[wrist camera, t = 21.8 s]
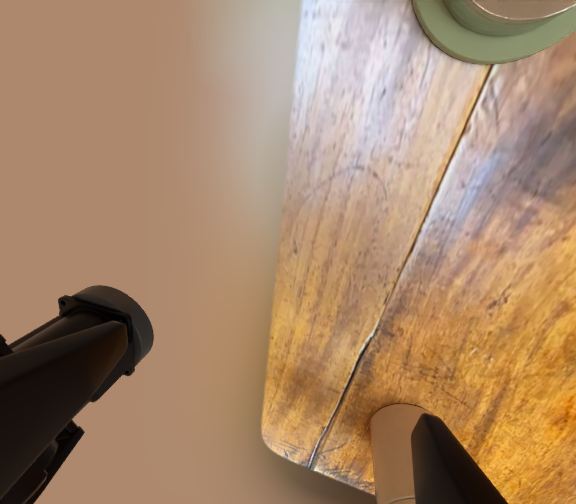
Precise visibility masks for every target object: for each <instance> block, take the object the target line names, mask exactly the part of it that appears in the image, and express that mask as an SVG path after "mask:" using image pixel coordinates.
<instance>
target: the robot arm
mask: <svg viewBox="0 0 576 504" xmlns="http://www.w3.org/2000/svg"><path fill="white" fill-rule="evenodd" d="M58 303H59V309H60V315H59V316H57V317H56V318H54V319H52V320H51V321H49V322H47V323H45V324H44V325H42V326H40V327H39V328H37V329H35V330H33V331H32V332H30V333H29V334H27V335H25V336H23V337H21V338H20V339H18V340H16V341H15V342H13V343H11V344H10V345H7V344H6V343H5V341H6V340H5V338H4V337H3V336H2V335H1V334H0V504H33V503H34V502H35V501H36V500H37V498H38V497H39V496H40V495H41V493H42V492H43V491H44V489H45V488H46V486H47V485H48V484H49V482H50V481H51V479H52V478H53V476H54V475H55V474H56V472H57V471H58V469H59V468H60V467H61V465H62V464H63V462H64V461H65V460H66V458H67V457H68V455H69V454H70V452H71V451H72V450H73V448H74V447H75V445H76V444H77V442H78V441H79V440H80V438H81V437H82V436H83V434H84V431H83V429H82V428H81V427H80V426H79V427H78V426H77V425H76V424H75V423H74V422H73V420H72V419H73V417H74V416H75V415H76V414H77V413H79V412H80V410H82V408H83V407H84V406H86V405H87V404H88V403H89V402H95V401H97V400H98V399H99V398H100V397H101V396H102V395H103V394H104V393H105V392H106V391H107V390H108V389H109V388H110V387H111V386H112V385H113V384H114V383H115V382H116V381H117V380H118V379H119V378H120V377H121V376H122V375H126V376H130V375H131V374H132V373H133V372H134V371H135V365H134V344H133V323H132V317H131V315H129V314H128V313H125V312H122V311H119V310H115V309H112V308H108V307H105V306H101V305H98V304H95V303H91V302H88V301H84V300H81V299H77V298H74V297H71V296H67V295H65V296H63V297H61V298H59V299H58ZM411 450H412V464H413V478H414V492H415V504H508V503H507V502H506V500H505V499H504V498H503V497H502V495H501V494H500V493H499V491H498V490H497V489H496V488H495V486H494V485H493V484H492V483H491V481H490V480H489V479H488V478H487V476H486V475H485V474H484V473H483V471H482V470H481V469H480V468H479V466H478V465H477V464H476V462H475V461H474V460H473V459H472V457H471V456H470V455H469V454H468V452H467V451H466V450H465V449H464V447H463V446H462V445H461V444H460V442H459V441H458V440H457V439H456V437H455V436H454V435H453V434H452V432H451V431H450V430H449V428H448V427H447V426H446V425H445V423H444V422H443V421H442V420H441V419H440V418H439V417H437V416H434V415H431V414H427V413H423V414H421V416H420V418H419V419H418V421H417V423H416V425H415V427H414V429H413V431H412V434H411Z"/></svg>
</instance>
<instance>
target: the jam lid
mask: <svg viewBox="0 0 576 504" xmlns="http://www.w3.org/2000/svg"><path fill="white" fill-rule="evenodd" d="M443 2H444V4H445V6H446V8H447V9H448V11H449V12H450V14H451V15H452V16H453V17H454V19H456V20H457V21H458V22H459V23H460V24H461V25H462V26H464V27H466V28H467V29H469V30H471V31H473V32H476V33H478V34H482V35H486V36H494V37H504V36H513V35H518V34H522V33H525V32H528V31H531V30H534V29H536V28H538V27H540V26H543V25H545V24H547V23H548V22H550V21H552V20H553V19H555V18H557V17H558V16H560V15H562V14H563V13H565V12H566V11H568V10H570V9H571V8H573V7H575V6H576V0H443Z"/></svg>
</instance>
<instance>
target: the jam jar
mask: <svg viewBox="0 0 576 504" xmlns="http://www.w3.org/2000/svg"><path fill="white" fill-rule="evenodd" d="M423 413H427V414H431V413H430V412H428V411H427V410H425V409H423V408H421V407H418V406H414V405H409V404H394V405H389V406H386V407H384V408H382V409H380V410H379V411H377V412H376V413H375V414H374V415H373V417H372V419H371V422H370V434H371V446H372V459H373V471H374V483H375V496H376V504H415V492H414V478H413V464H412V450H411V434H412V431H413V429H414V427H415V425H416V423H417V421H418V419H419V418H420V416H421V414H423ZM431 415H432V414H431Z"/></svg>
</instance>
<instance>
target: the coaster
mask: <svg viewBox="0 0 576 504" xmlns="http://www.w3.org/2000/svg"><path fill="white" fill-rule="evenodd" d="M412 2H413V6H414V10H415V13H416V15H417V18H418V20H419V23H420V24H421V26H422V28H423V30H424V31H425V33H426V34H427V36H428V37H429V38H430V39H431V41H432V42H433V43H434V44H435V45H436V46H438V47H439V48H440V49H441V50H442V51H444V52H445V53H447V54H449V55H450V56H452V57H454V58H457V59H459V60H462V61H465V62H470V63H474V64H486V65H488V64H501V63H507V62H512V61H516V60H519V59H522V58H525V57H528V56H530V55H533V54H535V53H537V52H539V51H541V50H544V49H546V48H548V47H550V46H551V45H553V44H555V43H556V42H558V41H560V40H562V39H563V38H565V37H566V36H568V35H569V34H570V33H572V32H573V31H575V30H576V6H575V7H573V8H571V9H570V10H568V11H566V12H565V13H563V14H562V15H560V16H558V17H557V18H555V19H553V20H552V21H550V22H548V23H547V24H545V25H543V26H540V27H538V28H536V29H534V30H531V31H528V32H525V33H522V34H518V35H513V36H504V37H494V36H486V35H482V34H478V33H476V32H473V31H471V30H469V29H467V28H466V27H464V26H462V25H461V24H460V23H459V22H458V21H457V20H456V19H454V17H453V16H452V15H451V14H450V12H449V11H448V9H447V8H446V6H445V4H444V2H443V0H412Z"/></svg>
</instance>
